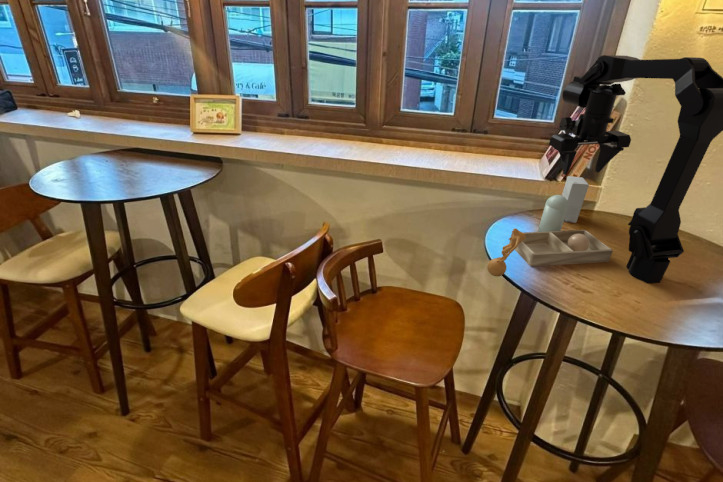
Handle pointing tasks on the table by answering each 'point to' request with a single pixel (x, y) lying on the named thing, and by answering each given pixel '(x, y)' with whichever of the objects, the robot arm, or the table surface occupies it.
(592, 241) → the caddy
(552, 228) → the pale blue pillar
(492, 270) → the figurine
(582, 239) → the brown egg
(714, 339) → the table surface
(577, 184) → the skincare box
